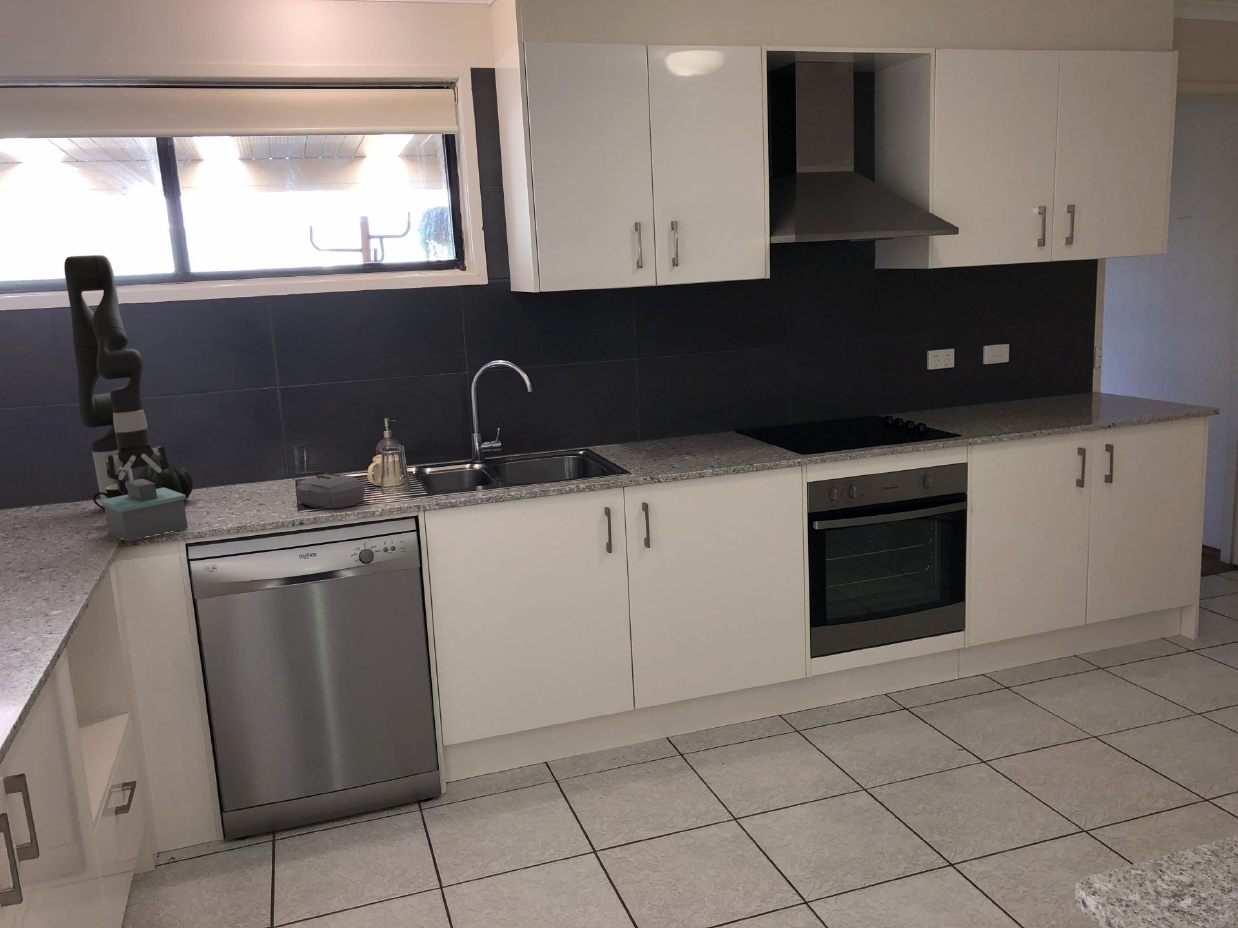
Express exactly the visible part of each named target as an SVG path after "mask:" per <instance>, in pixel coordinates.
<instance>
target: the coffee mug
mask: <svg viewBox="0 0 1238 928" xmlns="http://www.w3.org/2000/svg"><path fill="white" fill-rule="evenodd" d="M125 484H126V483H125ZM126 490H127V484H126ZM106 492H107V493H103V492H100V491H99V492H97V493H95V494H94V495H93V497H92V498H93V499H92V500H93V503H94V504H95V505H96V506H97V507H99V508H100V509H102V510H103V509H104V510H103V511H105V507H103V506H102V504H101V505H100V503H98V502H97V497H98V496H100V494H102V495H105V496H106V497H107V498H113V497H118V496H123V495H128V490H127V494H122V492H120V491H119V490H118V484H115V485H111V486H108V487H106Z"/></svg>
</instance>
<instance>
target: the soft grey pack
mask: <svg viewBox="0 0 1238 928" xmlns="http://www.w3.org/2000/svg"><path fill="white" fill-rule="evenodd" d="M365 493H366V489H365V487H364V484H363V483H362V482H361V481H360V480H358V479H357V478H355V477H354V476H349V475H346V474H340V473H333V472H325V474H321V475H320V474H315V476H313V477H310V478H305V479H304V480H301V481H300V482H298V483H297V484H296V487H295V494H296V498H297V500H298V501H299V502H300V503H301V504H303V505H305V506H306V507H311V508H315V509H323V510H325V509H327V510H328V509H342V508H347V507H353V506H356V505H358V504H361V503H362V502H363V501H364V498H365Z"/></svg>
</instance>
